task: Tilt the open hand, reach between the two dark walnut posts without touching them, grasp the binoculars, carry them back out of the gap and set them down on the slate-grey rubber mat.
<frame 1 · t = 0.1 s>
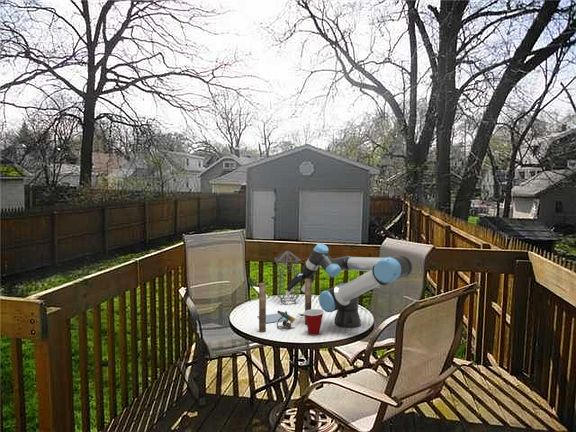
hand: (294, 292, 264), 15 cm above the table, tool tilted 35°, fingers open, 13 cm apart
geometric lantern: (287, 302, 301), on the table
binoculars: (285, 328, 247), on the table
grey mat: (272, 318, 263), on the table
post gap: (285, 327, 247), on the table
plastic cup: (313, 333, 238), on the table
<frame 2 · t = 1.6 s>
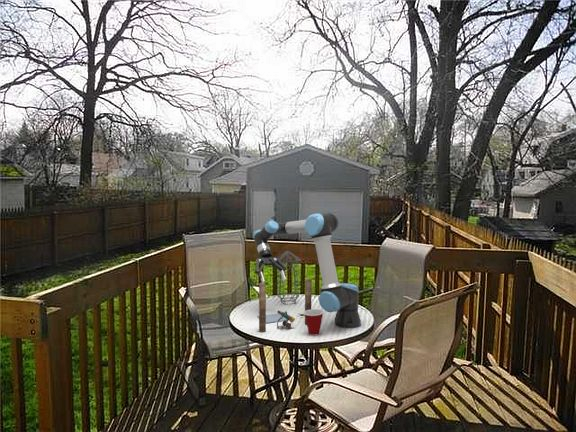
hand: (274, 281, 261), 23 cm above the table, tool tilted 45°, fingers open, 13 cm apart
nothing on the table moved.
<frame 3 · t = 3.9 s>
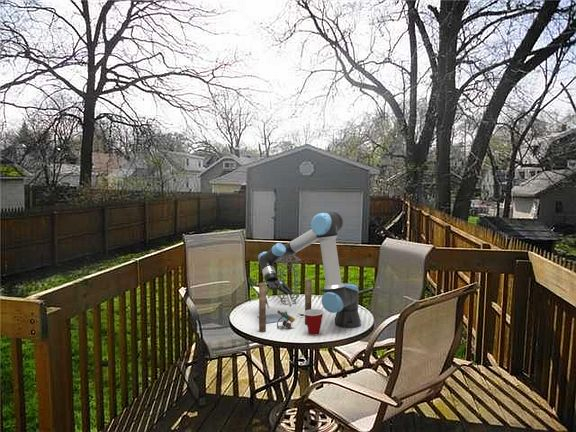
hand: (280, 306, 251), 10 cm above the table, tool tilted 45°, fingers open, 13 cm apart
nothing on the table moved.
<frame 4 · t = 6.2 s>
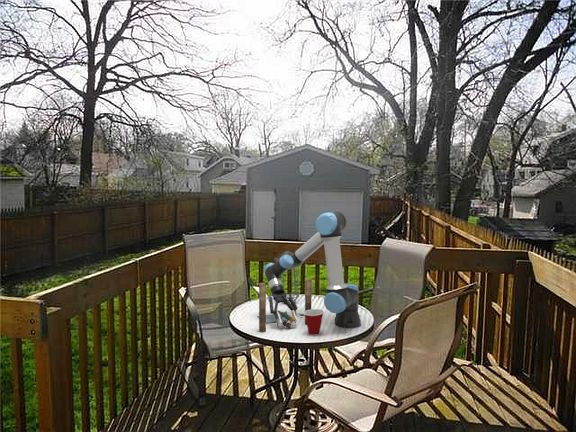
hand: (288, 322, 244), 4 cm above the table, tool tilted 45°, fingers closed on binoculars, 9 cm apart
binoculars: (285, 328, 247), on the table, touching gripper
everything else where it was.
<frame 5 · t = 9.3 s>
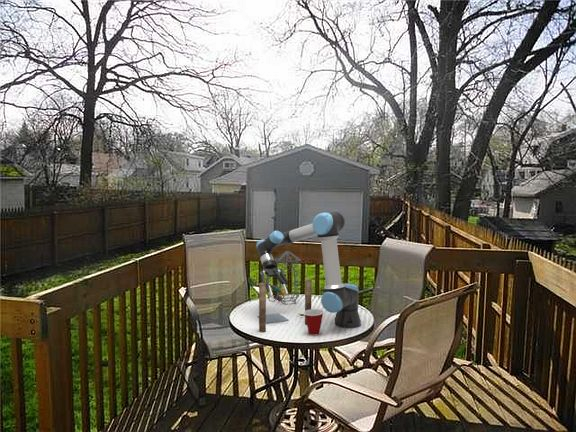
hand: (279, 295, 252), 16 cm above the table, tool tilted 45°, fingers closed on binoculars, 9 cm apart
binoculars: (276, 301, 256), point 12 cm above the table, touching gripper
everything else where it was.
when the fingers open (5 cm above the table, at t = 12.4 s): binoculars drops 1 cm, resting on grey mat.
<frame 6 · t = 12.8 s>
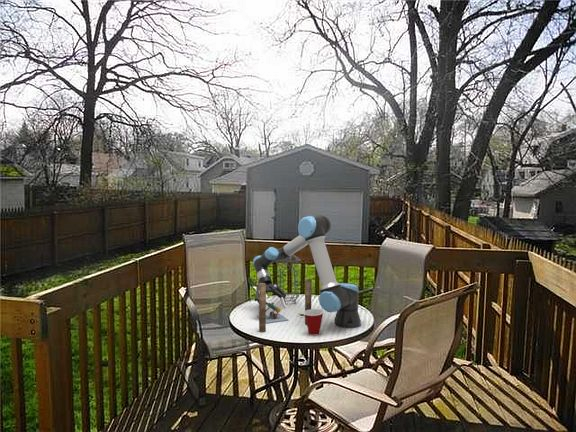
hand: (274, 309, 261), 6 cm above the table, tool tilted 45°, fingers open, 13 cm apart
binoculars: (272, 318, 263), resting on grey mat
everything else where it was.
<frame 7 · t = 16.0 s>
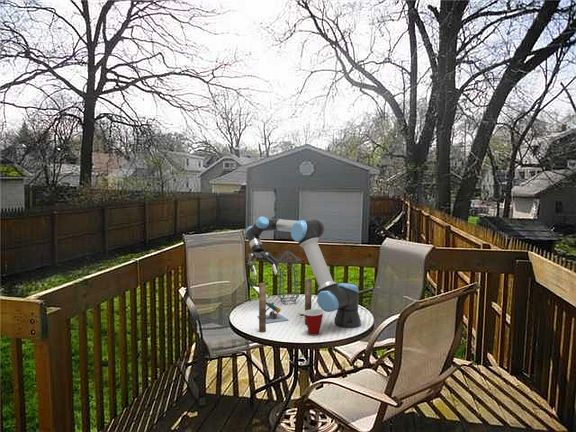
hand: (266, 274, 272), 24 cm above the table, tool tilted 45°, fingers open, 13 cm apart
nothing on the table moved.
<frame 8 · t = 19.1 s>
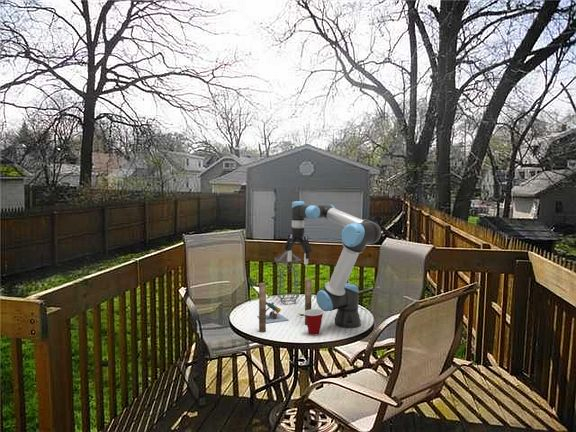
hand: (297, 262, 266), 33 cm above the table, tool pointing down, fingers open, 13 cm apart
nothing on the table moved.
at the end: binoculars inside the target area on the grey mat (0.2 cm from its centre), point 0.4 cm above the grey mat's base; binoculars tilted 1°; the gripper is holding nothing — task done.
